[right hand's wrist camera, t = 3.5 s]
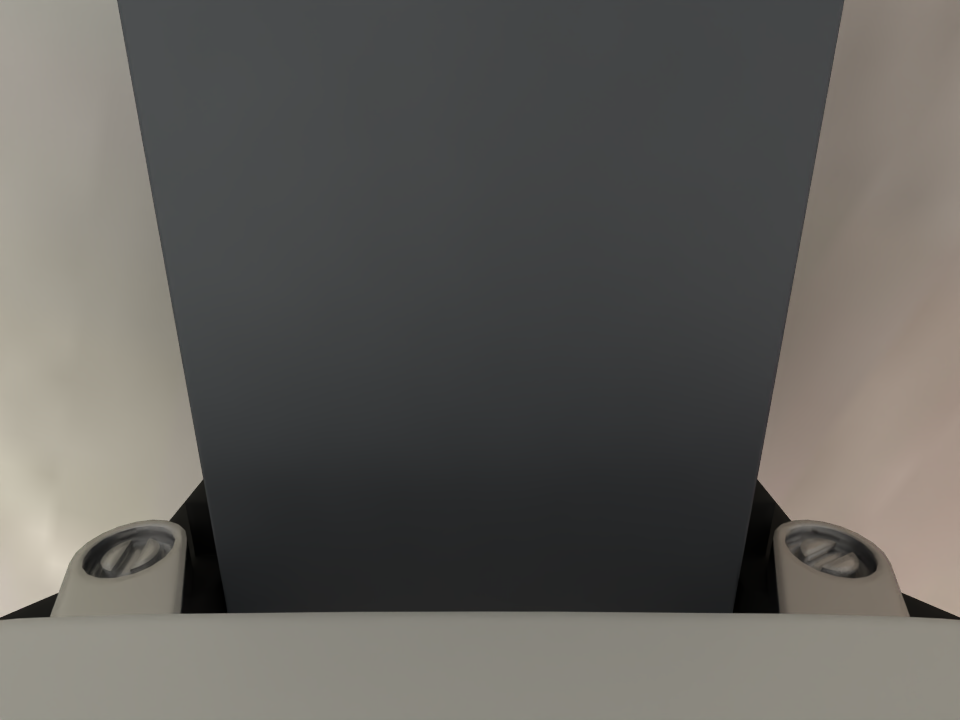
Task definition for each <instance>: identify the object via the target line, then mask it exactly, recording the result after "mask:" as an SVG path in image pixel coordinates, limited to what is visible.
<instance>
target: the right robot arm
mask: <svg viewBox="0 0 960 720" xmlns="http://www.w3.org/2000/svg"><path fill="white" fill-rule="evenodd" d="M0 720H960V617H957V616H955V615H953V614H950V613H948V612H946V611H943V610H941V609H939V608H936V607H934V606H932V605H929V604H927V603H925V602H922V601H920V600H917V599H915V598H913V597H910V596H908V595H906V594H903V593H901V591H900V588H899V585H898V582H897V580H896V577H895V574H894V571H893V569H892V566H891V563H890V562H889V560H888V558H887V557H886V555H885V554H884V552H883V551H881V550H880V549H879V548H878V547H877V546H876V545H875V544H874V543H872V542H871V541H869V540H868V539H866V538H864V537H863V536H861V535H859V534H858V533H855V532H853V531H850V530H848V529H846V528H843V527H841V526H837V525H833V524H830V523H826V522H821V521H813V520H795V521H791V520H790V519H789V518H788V517H787V515H786V514H785V513H784V512H783V510H782V509H781V508H780V507H779V505H778V504H777V503H776V502H775V501H774V499H773V498H772V497H771V496H770V494H769V493H768V492H767V491H766V490H765V488H764V487H763V486H762V485H761V483H760V482H759V481H758V480H757V482H756V487H755V493H754V498H753V504H752V509H751V515H750V520H749V526H748V531H747V537H746V542H745V548H744V553H743V559H742V564H741V570H740V575H739V581H738V586H737V592H736V597H735V603H734V608H733V613H643V612H303V613H227V607H226V601H225V596H224V590H223V585H222V579H221V574H220V568H219V563H218V557H217V551H216V546H215V540H214V535H213V529H212V524H211V518H210V513H209V507H208V502H207V496H206V490H205V485H204V479H203V480H202V482H201V483H200V484H199V485H198V487H197V488H196V489H195V490H194V491H193V493H192V494H191V495H190V496H189V498H188V499H187V500H186V501H185V502H184V504H183V505H182V506H181V507H180V509H179V510H178V511H177V512H176V513H175V515H174V516H173V517H172V518H171V520H170V521H165V520H147V521H139V522H134V523H130V524H127V525H123V526H119V527H117V528H114V529H112V530H110V531H107V532H105V533H102V534H101V535H99V536H97V537H96V538H94V539H92V540H91V541H89V542H87V543H86V544H85V545H84V546H83V547H82V548H81V549H80V550H79V551H77V552H76V554H75V555H74V557H73V558H72V560H71V562H70V563H69V566H68V569H67V571H66V574H65V577H64V580H63V582H62V585H61V588H60V591H59V593H57V594H55V595H52V596H50V597H48V598H45V599H43V600H41V601H38V602H36V603H34V604H31V605H29V606H26V607H24V608H22V609H19V610H17V611H15V612H12V613H10V614H8V615H5V616H3V617H1V618H0Z"/></svg>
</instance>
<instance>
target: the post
mask: <svg viewBox="0 0 960 720" xmlns="http://www.w3.org/2000/svg"><path fill="white" fill-rule="evenodd" d="M117 2H118V7H119V13H120V19H121V24H122V30H123V35H124V41H125V46H126V52H127V57H128V63H129V69H130V74H131V80H132V85H133V91H134V96H135V102H136V107H137V113H138V118H139V124H140V130H141V135H142V141H143V146H144V152H145V157H146V163H147V168H148V174H149V180H150V185H151V191H152V196H153V202H154V207H155V213H156V218H157V224H158V229H159V235H160V241H161V246H162V252H163V257H164V263H165V268H166V274H167V279H168V285H169V291H170V296H171V302H172V307H173V313H174V318H175V324H176V329H177V335H178V341H179V346H180V352H181V357H182V363H183V368H184V374H185V379H186V385H187V390H188V396H189V402H190V407H191V413H192V418H193V424H194V429H195V435H196V440H197V446H198V452H199V457H200V463H201V468H202V474H203V479H204V485H205V490H206V496H207V502H208V507H209V513H210V518H211V524H212V529H213V535H214V540H215V546H216V551H217V557H218V563H219V568H220V574H221V579H222V585H223V590H224V596H225V601H226V607H227V613H303V612H643V613H733V608H734V603H735V597H736V592H737V586H738V581H739V575H740V570H741V564H742V559H743V553H744V548H745V542H746V537H747V531H748V526H749V520H750V515H751V509H752V504H753V498H754V493H755V487H756V482H757V476H758V471H759V465H760V460H761V454H762V449H763V443H764V438H765V432H766V427H767V421H768V416H769V410H770V405H771V399H772V394H773V388H774V383H775V377H776V372H777V366H778V361H779V355H780V350H781V345H782V339H783V334H784V328H785V323H786V317H787V312H788V306H789V301H790V295H791V290H792V284H793V279H794V273H795V268H796V262H797V257H798V251H799V246H800V240H801V235H802V229H803V224H804V218H805V213H806V207H807V202H808V196H809V191H810V185H811V180H812V174H813V169H814V163H815V158H816V152H817V147H818V141H819V136H820V130H821V125H822V119H823V114H824V108H825V103H826V97H827V92H828V86H829V81H830V75H831V70H832V65H833V59H834V54H835V48H836V43H837V37H838V32H839V26H840V21H841V15H842V10H843V4H844V0H117Z"/></svg>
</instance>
